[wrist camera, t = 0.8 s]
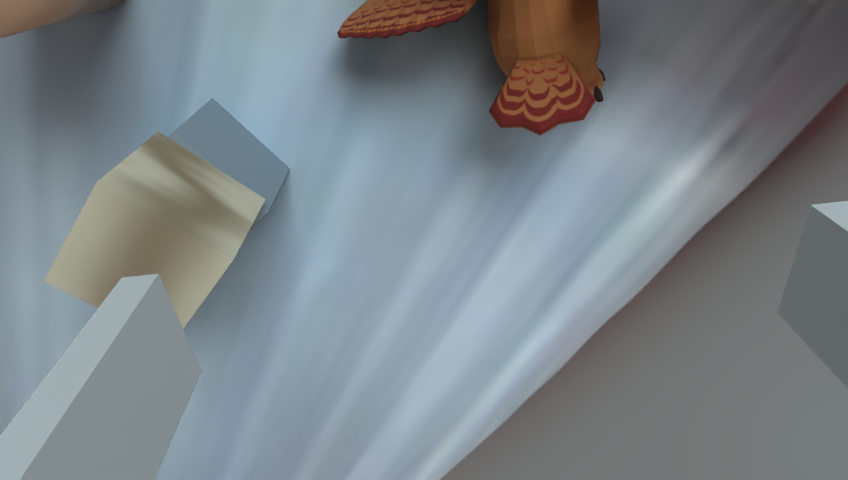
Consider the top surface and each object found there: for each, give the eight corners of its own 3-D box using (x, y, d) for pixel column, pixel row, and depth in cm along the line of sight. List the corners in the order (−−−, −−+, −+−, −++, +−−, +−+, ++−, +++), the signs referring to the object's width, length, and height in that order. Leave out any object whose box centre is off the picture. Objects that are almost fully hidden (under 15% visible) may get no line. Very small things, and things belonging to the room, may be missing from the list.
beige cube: (109, 217, 29) (43, 280, 24) (158, 131, 26) (96, 181, 21) (212, 273, 31) (171, 344, 26) (265, 199, 28) (233, 259, 23)
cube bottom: (152, 161, 34) (105, 204, 28) (212, 97, 32) (173, 131, 26) (229, 224, 36) (199, 274, 31) (290, 168, 34) (268, 212, 29)
